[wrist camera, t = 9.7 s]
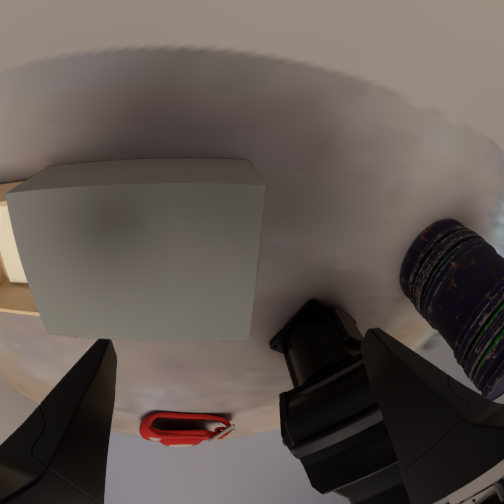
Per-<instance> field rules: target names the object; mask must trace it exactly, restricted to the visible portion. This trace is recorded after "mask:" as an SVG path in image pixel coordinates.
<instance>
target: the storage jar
mask: <svg viewBox="0 0 504 504" xmlns="http://www.w3.org/2000/svg"><path fill="white" fill-rule="evenodd" d="M400 285H401V289H402V291H403V292H404V294H405V295H406V296H407V297H408V298H409V299H410V300H411V302H412V303H413V304H414V306H415V308H416V310H417V311H418V312H419V313H420V315H421V316H422V317H423V318H424V319H426V321H427V322H428V323H429V324H430V325H431V327H432V328H433V329H435V330H438V332H439V333H440V334H441V335H442V337H443V338H444V339H445V341H446V342H447V343H448V344H449V346H450V347H451V348H452V350H453V351H454V357H455V358H456V359H457V363H458V364H459V365H461V366H462V368H463V369H464V373H465V374H466V375H467V377H468V378H469V380H470V381H471V382H473V383H474V385H475V386H476V388H477V389H478V390H479V391H481V392H482V396H484V397H486V398H488V399H489V400H491V401H494V400H495V399H497V398H498V397H500V396H501V395H503V394H504V258H502V257H501V256H500V255H499V254H497V252H496V250H495V249H494V248H493V247H492V246H491V245H490V244H488V243H487V242H486V241H485V240H484V239H483V238H482V237H481V236H480V235H478V234H477V233H475V232H474V231H472V230H469V229H468V228H466V227H464V226H463V225H462V224H461V223H459V222H458V221H456V220H454V219H442V220H439V221H437V222H435V223H433V224H431V225H430V226H428V227H427V228H426V229H425V230H424V231H423V232H422V233H421V234H420V235H419V236H418V237H417V238H416V239H415V241H414V242H413V243H412V245H411V246H410V248H409V250H408V252H407V254H406V256H405V258H404V260H403V263H402V267H401V271H400Z"/></svg>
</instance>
